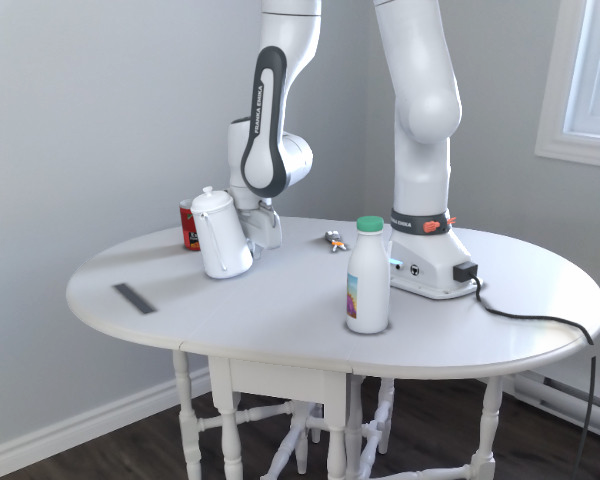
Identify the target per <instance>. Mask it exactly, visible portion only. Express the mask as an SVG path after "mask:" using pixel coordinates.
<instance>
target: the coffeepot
mask: <svg viewBox="0 0 600 480" xmlns="http://www.w3.org/2000/svg"><path fill="white" fill-rule="evenodd" d="M213 189H214V188H213V186H211V185H210V186H205V187H203V188H202V192H203V193H202V194H200V195H198V196H196V197H195V199H194V200H193V202H192V206H191V212H192V213H193V217H194V222H195V226H196V231H197V235H198V240H199V244H200V249H201V250H200V252H201V253H200V254H201V258H202V262H203V266H204V270H205V273H206V275H207V276H209V277H210V278H213V279H218V280H219V279H220V280H221V279H228V278H233V277H237V276H239V275H241V274H243V273H245V272H246V271H248V270H249V269H251V268H250V267H251V266H252V265H253V258H252V256H251V254H250V251H249V248H248V245H247V242H246V239H245V236H244V233H243V230H242V227H241V224H240V221H239V218H238V215H237V213H236V210H235V207H234V204H233V202H234V201H233V198H232V197H231V196H230V195H229V194H228V193H227V192H225V191H222V190H213Z"/></svg>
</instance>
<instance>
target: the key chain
mask: <svg viewBox="0 0 600 480" xmlns="http://www.w3.org/2000/svg"><path fill="white" fill-rule="evenodd" d="M324 236H325V238H326V239H327V240H328V241H329V242H330V243H331V245H333V248H332V252H336V250H337V248H338V247H339V248H340V249H342V250H347V248H346V247H345V243H344V242H343V243H342V242H341V236H340V233H339V232H338V231H336V230H332V231H325V233H324Z"/></svg>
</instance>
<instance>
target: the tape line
mask: <svg viewBox="0 0 600 480" xmlns="http://www.w3.org/2000/svg"><path fill="white" fill-rule="evenodd" d="M114 287H115V288H116V289H117V290H118V291H119V292H120V293H121V294H122V295H124V296H125V297H126V298H127V299H128V300H129V301H130V302H131V303H132V304H133V305H134V306H135V307H137V308H138V309H139V310H140V311H141V312H142V313H143V314H147V313H152V312H154V311H155V310H154V309H153V308H152V307H151V306H150V305H148V304H147V303H146V302H145V301H144V300H143V299H142V298H141V297H139V296H138V295H137V294H136V293H135V292H133V290H131V288H129V287H128V286H127V285H126V284H125V283H122V284H117V285H114Z"/></svg>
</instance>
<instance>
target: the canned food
mask: <svg viewBox="0 0 600 480" xmlns="http://www.w3.org/2000/svg"><path fill="white" fill-rule="evenodd" d="M195 198H196V197H195ZM195 198H186V199H184V200H181V201H180V202H179V203H178V205H179V215H180V221H181V222H180V223H181V228H182V229H181V230H182V236H183V244H184V246H185V248H186V249H188V250H190V251H201V249H200V244H199V240H198V235H197V231H196V226H195V222H194V217H193V213H192V212H191V206H192V202H193V200H194V199H195Z"/></svg>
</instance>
